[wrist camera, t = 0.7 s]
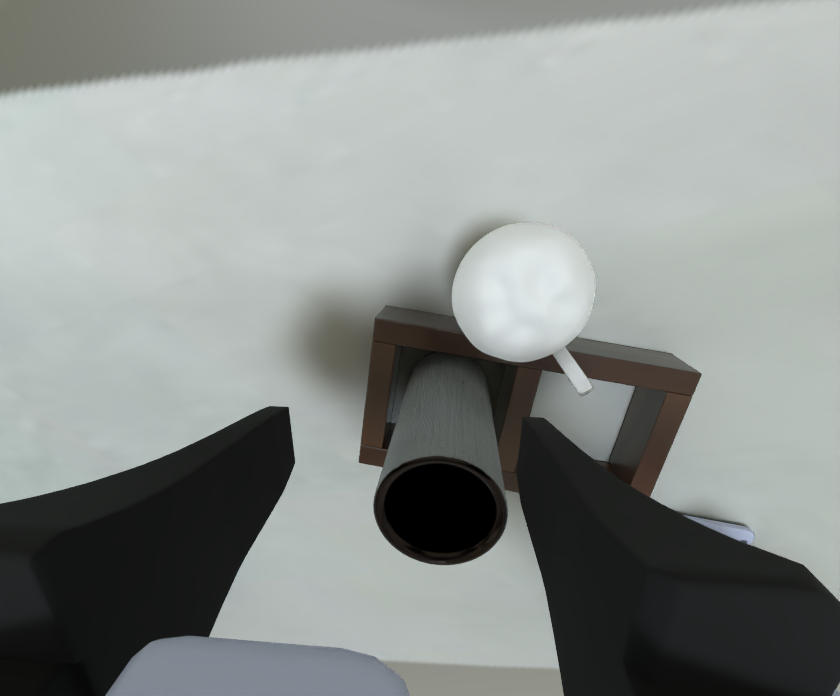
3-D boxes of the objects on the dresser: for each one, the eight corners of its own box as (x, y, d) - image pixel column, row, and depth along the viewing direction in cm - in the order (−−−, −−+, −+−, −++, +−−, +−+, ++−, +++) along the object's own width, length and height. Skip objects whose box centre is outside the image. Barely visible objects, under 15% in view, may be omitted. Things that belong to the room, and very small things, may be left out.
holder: (622, 482, 24) (642, 516, 21) (369, 436, 24) (358, 463, 22) (672, 353, 21) (702, 373, 18) (385, 305, 22) (375, 317, 19)
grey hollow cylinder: (420, 428, 24) (394, 574, 14) (399, 359, 23) (355, 470, 13) (494, 413, 23) (520, 558, 13) (477, 342, 22) (492, 445, 12)
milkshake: (493, 336, 22) (520, 430, 12) (437, 254, 21) (419, 289, 11) (568, 288, 20) (662, 353, 11) (513, 199, 19) (565, 186, 10)
